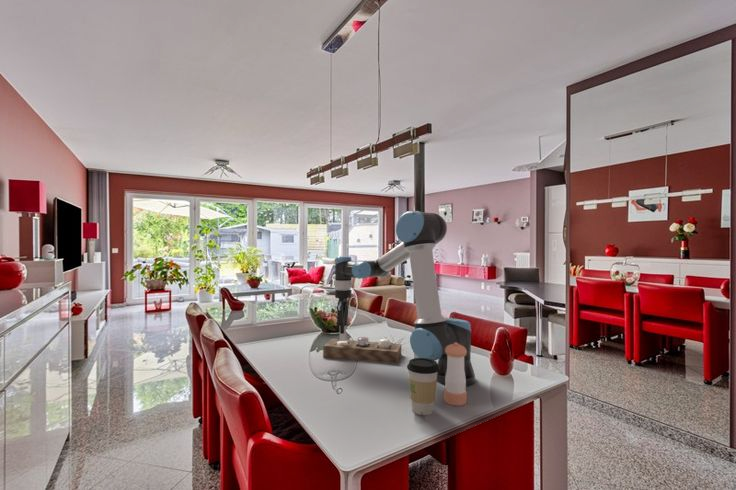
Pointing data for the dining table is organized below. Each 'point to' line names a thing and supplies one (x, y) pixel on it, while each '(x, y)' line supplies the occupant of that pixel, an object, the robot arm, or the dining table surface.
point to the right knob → (384, 343)
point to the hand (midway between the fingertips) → (342, 339)
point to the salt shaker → (455, 375)
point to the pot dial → (363, 342)
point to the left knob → (342, 343)
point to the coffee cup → (422, 384)
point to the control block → (362, 351)
